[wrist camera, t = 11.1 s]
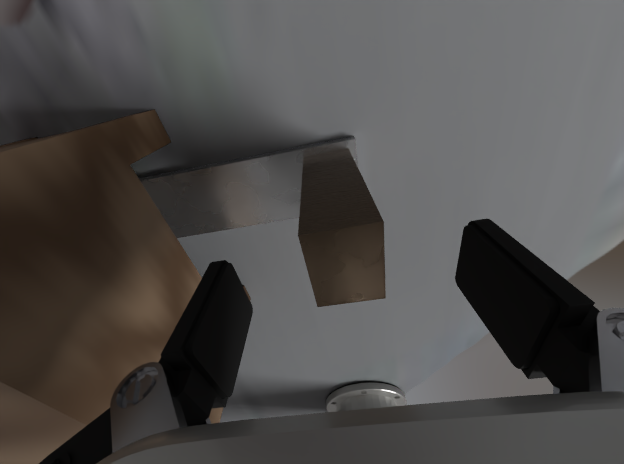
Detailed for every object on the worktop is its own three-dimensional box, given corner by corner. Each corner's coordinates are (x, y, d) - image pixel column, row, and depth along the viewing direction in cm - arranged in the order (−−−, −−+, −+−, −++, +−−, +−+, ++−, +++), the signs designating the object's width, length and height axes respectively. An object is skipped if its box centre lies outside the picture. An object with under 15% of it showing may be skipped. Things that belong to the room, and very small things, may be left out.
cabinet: (250, 298, 25) (203, 484, 14) (162, 310, 26) (52, 493, 15) (147, 95, 15) (-383, 188, 3) (5, 128, 16) (-762, 286, 4)
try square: (358, 200, 19) (397, 304, 11) (82, 248, 21) (-60, 362, 13) (353, 135, 16) (398, 206, 8) (36, 198, 19) (-183, 303, 10)
